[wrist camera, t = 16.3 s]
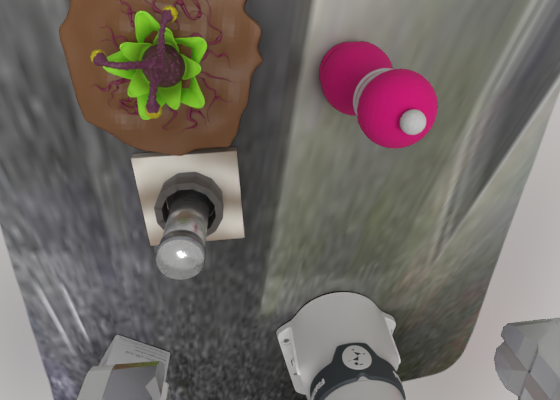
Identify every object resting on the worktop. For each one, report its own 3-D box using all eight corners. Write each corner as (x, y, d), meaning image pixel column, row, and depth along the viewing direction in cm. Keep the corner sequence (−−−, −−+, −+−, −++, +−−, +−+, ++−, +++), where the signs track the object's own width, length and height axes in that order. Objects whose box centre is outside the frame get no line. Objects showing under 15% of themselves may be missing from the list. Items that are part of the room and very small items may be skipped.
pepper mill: (375, 101, 47) (459, 171, 30) (314, 104, 47) (362, 177, 29) (380, 35, 44) (479, 69, 26) (315, 38, 43) (370, 74, 26)
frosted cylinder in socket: (208, 183, 48) (201, 239, 37) (212, 216, 50) (207, 278, 40) (169, 186, 48) (151, 243, 37) (175, 219, 50) (159, 282, 39)
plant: (77, 140, 46) (35, 182, 36) (56, -61, 37) (-7, -77, 27) (251, 155, 49) (255, 197, 39) (270, -27, 40) (282, -32, 30)
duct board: (244, 231, 54) (245, 251, 50) (152, 239, 53) (146, 259, 49) (236, 146, 48) (236, 161, 44) (133, 153, 47) (124, 169, 43)
